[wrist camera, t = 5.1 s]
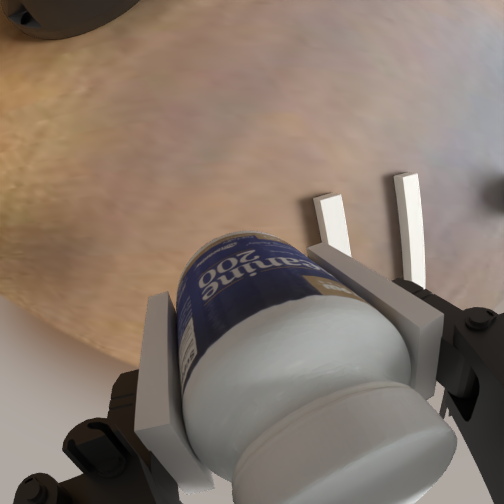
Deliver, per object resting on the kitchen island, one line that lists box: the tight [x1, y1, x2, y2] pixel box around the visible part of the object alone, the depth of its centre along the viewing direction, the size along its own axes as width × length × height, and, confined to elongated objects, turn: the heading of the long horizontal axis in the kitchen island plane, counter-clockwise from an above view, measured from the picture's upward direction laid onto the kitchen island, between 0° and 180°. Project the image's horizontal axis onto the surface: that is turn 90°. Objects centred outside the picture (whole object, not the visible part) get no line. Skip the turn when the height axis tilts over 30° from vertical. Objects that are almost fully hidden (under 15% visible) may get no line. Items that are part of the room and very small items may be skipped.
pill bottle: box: [176, 231, 457, 504], centre depth 8 cm, size 5×5×10 cm
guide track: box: [313, 172, 425, 289], centre depth 30 cm, size 22×11×4 cm, turn 14°
